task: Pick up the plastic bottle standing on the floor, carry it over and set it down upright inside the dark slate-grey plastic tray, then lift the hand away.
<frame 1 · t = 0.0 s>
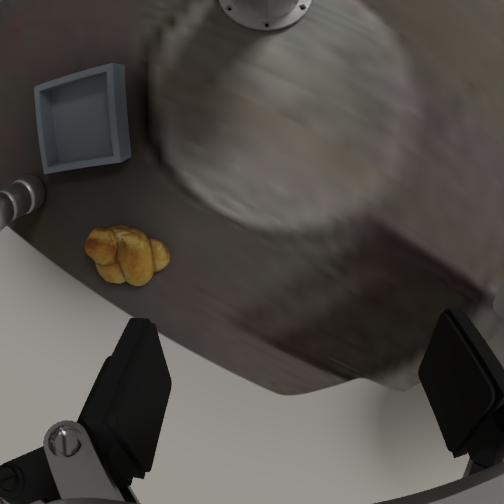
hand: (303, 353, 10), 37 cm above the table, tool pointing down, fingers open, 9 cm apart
bread roll: (135, 248, 50), on the table
tray: (86, 118, 40), on the table
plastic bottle: (36, 189, 45), on the table
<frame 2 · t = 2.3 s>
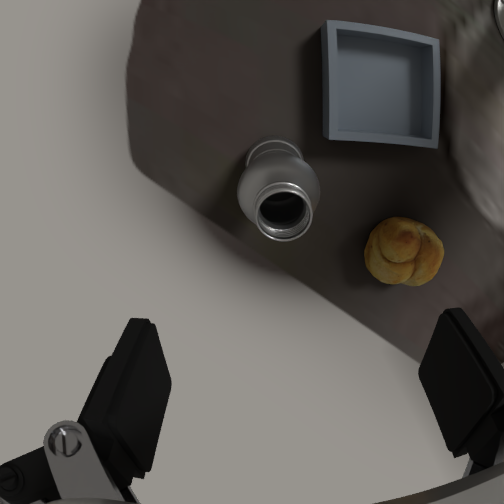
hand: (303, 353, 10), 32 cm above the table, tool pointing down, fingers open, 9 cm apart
bread roll: (399, 244, 43), on the table
tray: (377, 85, 33), on the table
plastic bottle: (273, 158, 38), on the table
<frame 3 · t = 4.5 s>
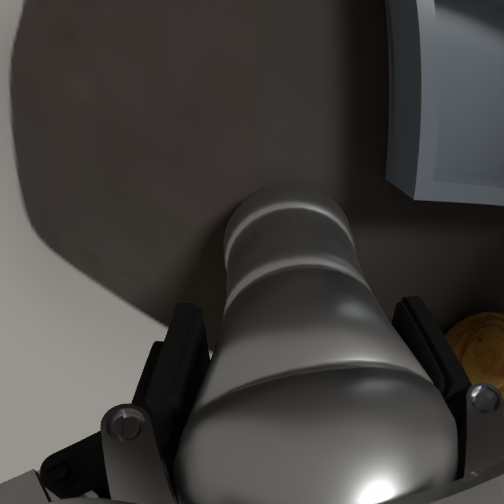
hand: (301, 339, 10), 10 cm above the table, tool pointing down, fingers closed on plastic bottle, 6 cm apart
bread roll: (473, 342, 24), on the table
tray: (482, 83, 14), on the table
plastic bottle: (284, 225, 19), on the table, touching gripper
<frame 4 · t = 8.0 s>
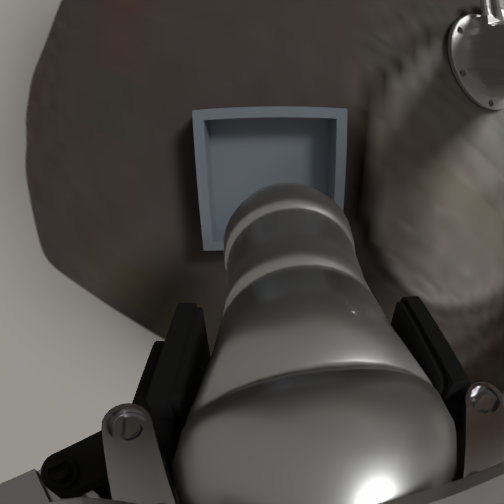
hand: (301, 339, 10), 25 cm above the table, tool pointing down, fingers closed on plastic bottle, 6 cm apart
tray: (270, 172, 33), on the table
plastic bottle: (284, 225, 19), point 15 cm above the table, touching gripper
when the fingers open (11 cm above the table, at t = 11.2 s): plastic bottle drops 1 cm, resting on tray.
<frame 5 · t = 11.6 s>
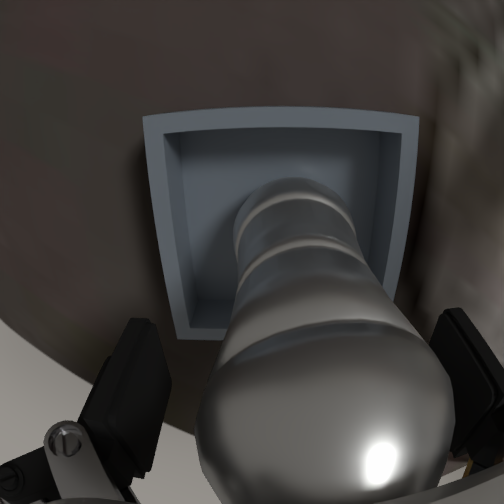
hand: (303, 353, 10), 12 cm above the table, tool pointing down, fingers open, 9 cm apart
tray: (281, 215, 21), on the table
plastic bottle: (289, 217, 20), point 1 cm above the table, touching tray
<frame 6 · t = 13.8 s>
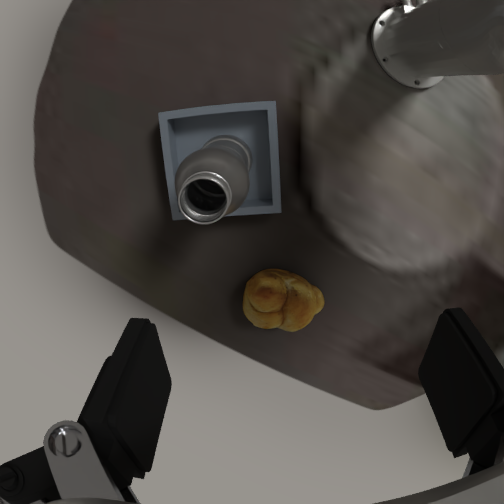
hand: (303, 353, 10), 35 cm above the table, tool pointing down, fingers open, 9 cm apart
bread roll: (281, 291, 50), on the table
tray: (223, 156, 41), on the table
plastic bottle: (226, 156, 40), point 1 cm above the table, touching tray
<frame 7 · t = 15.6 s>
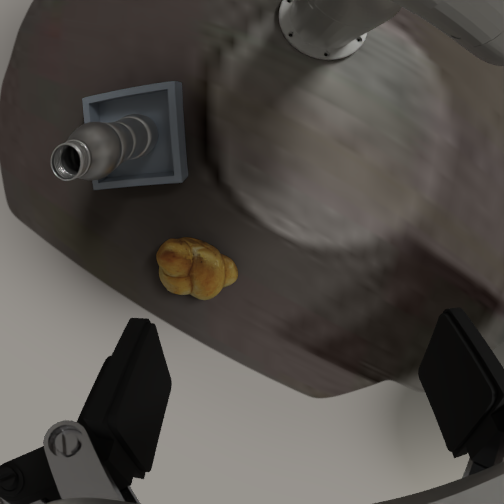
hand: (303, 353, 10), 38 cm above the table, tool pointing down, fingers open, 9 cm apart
bread roll: (199, 261, 52), on the table
tray: (139, 134, 43), on the table
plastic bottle: (140, 134, 42), point 1 cm above the table, touching tray
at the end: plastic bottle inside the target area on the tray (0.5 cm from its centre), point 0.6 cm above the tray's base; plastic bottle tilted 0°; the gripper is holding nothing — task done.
